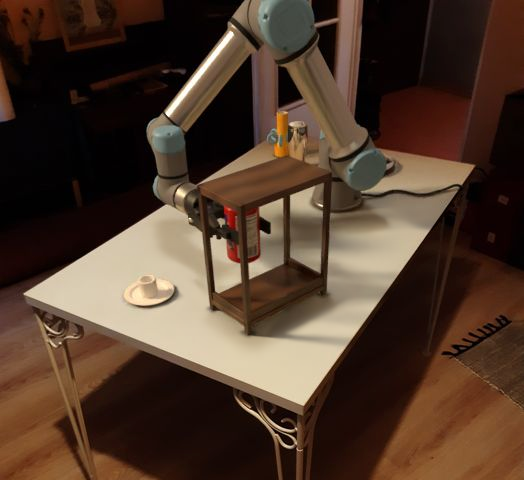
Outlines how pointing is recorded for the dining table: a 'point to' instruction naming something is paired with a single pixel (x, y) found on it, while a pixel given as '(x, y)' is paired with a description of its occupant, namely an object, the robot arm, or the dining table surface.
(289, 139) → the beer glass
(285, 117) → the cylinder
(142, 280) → the candle holder
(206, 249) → the shelf stand
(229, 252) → the soda can
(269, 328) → the dining table surface
